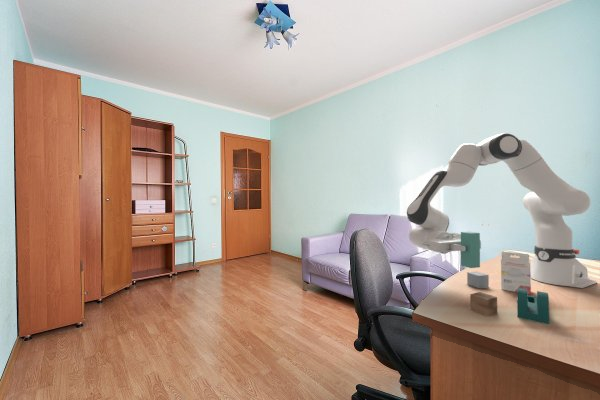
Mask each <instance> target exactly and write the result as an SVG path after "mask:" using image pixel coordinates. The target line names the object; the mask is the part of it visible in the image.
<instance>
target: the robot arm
mask: <svg viewBox="0 0 600 400" xmlns="http://www.w3.org/2000/svg"><path fill="white" fill-rule="evenodd" d="M502 161H503V162H504V163H505V164H506V165H507V167H508V168H509V170H510V172H512V174H513V175H514V177H515V178H516V180H517V181H518V182H519V184H520V185H521V186H522V187H524V188H526V189H527V190H529V191H530V192H528V193H526V195H524V197H523V201H522V205H523V206H524V208H525V209H526V210H527V211H528V212H529V214H530V216H531V219H532V222H533V224H534V229H535V231H534V232H535V246H534V249H533V251H534V255H535V256H532V257H531V263H530V273H531V279H533V280H535V281H537V282H540V283H541V282H542V283H545V284H549V285H556V286H562V287H573V288H579V289H583V288H587V287H590V286H592V285H594V284H597V280H595V279H594V278H589V276H588V275H589V273H588V268H587V266H585V265H584V264H583V263H582V262H580V261H579V260H578V259H577V258H576V257H577V256H576V255H580V249H574V248H573V229H571V228H570V227H569V226H568V225H567V224H566V222H565V221H564V218H563V216H565V217H566V216H567V217H568V216H575V215H581V214H583V213H585V212H587V211H588V210H589V208H590V206H591V198H590V196H589V194H587V193H586V192H585V191H583V190H580V189H578V188H576V187H574V186H572V185H570V184H569V183H567V182H566V181H564V180H563V179H562V178H561V177H560V176H558V175H557V174H556V173H555V171H553V170H552V169H551V167H550V166H549V165H548V164H547V162H546V161H545V159H544V158H543V157H542V155H541V153H539V151H538V150H536V148H535V147H533V145H532V144H530V143H529V142H528V141H526V140H524V139H519V138H518V137H516V136H515V135H513V134H511V133H507V132H506V133H500V134H496V135H493V136H491V137H488V138H486V139H484V140H482V141H481V142H479V143H476V144H474V143H469V142H467V143H463V144H461V145H459V147H458V148H457V149H456V151H455V152H454V153H452V156H451V158H450V159H449V161H448V163H447V165H446V166H445V167H444V168H443V169H441V170H437V171H436V172H435V173H434V174H433V175H432V176H431V178H430V179H429V180H428V182H427V183H426V185H425V186H424V187H423V188H422V190H421V191H420V193H419V195H418V196H417V197H416V198H415V199H414V200H413V201H412V202H411V203H410V204H409V206H408V207H407V209H406V216H407V220H408V221H409V222H410V223H413V224H415V225H418V226H417V227H415V228H412V229H410V231H409V233H408V237H409V238H408V239H409V241H410V243H411V244H412V245H413V246H415V247H417V248H421V249H422V250H426V251H427V250H430V251H432V252H435V253H438V254H443V255H444V254H445V255H446V254H448V253H451V252H458V251H459V252H461V251H468V247H467V246H464V245H461V233H458V232H457V233H456V232H449V231H447V230H448V229H449V225H450V219H449V216H448V215H447V214H445V213H444V212H443V211H440V210H439V209H437V208H436V207H433V206H431V202H432V201H433V199H434V197H435V196H436V195H437V194H438V192H439V190H440V189H441V188H443V187H454V188H458V187H464V186H466V185H468V184H469V183H470V182H471V181H472V179H473V178H474V176H475V173H476V171H477V169H478V168H479V166H489V165H492V164H497V163H499V162H502ZM481 249H482V242H481V240H480V250H481Z"/></svg>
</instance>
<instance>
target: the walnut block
mask: <svg viewBox="0 0 600 400" xmlns="http://www.w3.org/2000/svg"><path fill="white" fill-rule="evenodd" d="M469 296H470V300H469V301H470V302H469V303H470V305H469V306H470V308H469V310H470V311H472V312H475V313H477V314H481V315H483V316H485V315H486V317H489V315H490V316H493V315H496V314H498V296H496V295H495V296H494V295H492V294H489V293H485V292H481V291H477V292H474V293H471V294H470V295H469Z"/></svg>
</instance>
